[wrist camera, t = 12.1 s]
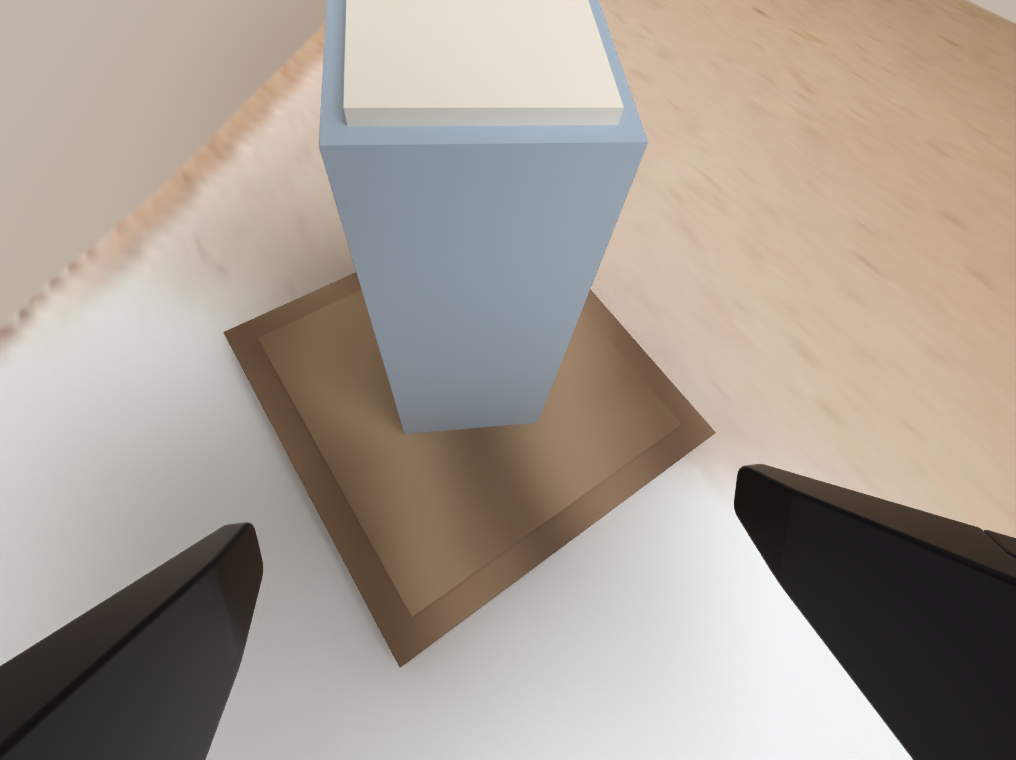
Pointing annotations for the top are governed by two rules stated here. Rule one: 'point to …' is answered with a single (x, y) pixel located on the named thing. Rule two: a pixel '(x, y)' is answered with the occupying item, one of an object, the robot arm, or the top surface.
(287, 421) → the walnut board
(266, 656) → the top surface
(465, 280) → the slate block
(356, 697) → the top surface
